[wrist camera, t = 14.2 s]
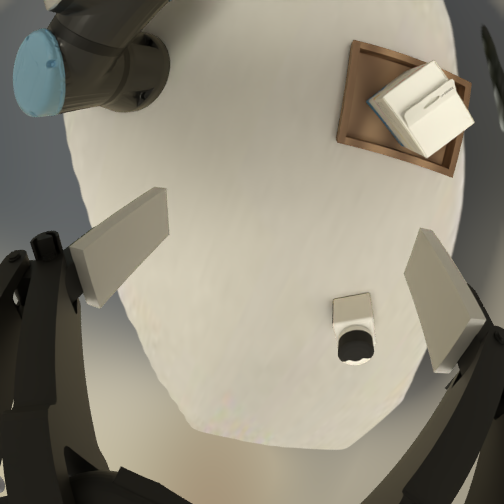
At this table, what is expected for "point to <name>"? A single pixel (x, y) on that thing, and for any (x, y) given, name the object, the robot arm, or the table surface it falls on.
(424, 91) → the ink box
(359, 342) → the medicine bottle
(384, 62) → the walnut tray
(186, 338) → the table surface
